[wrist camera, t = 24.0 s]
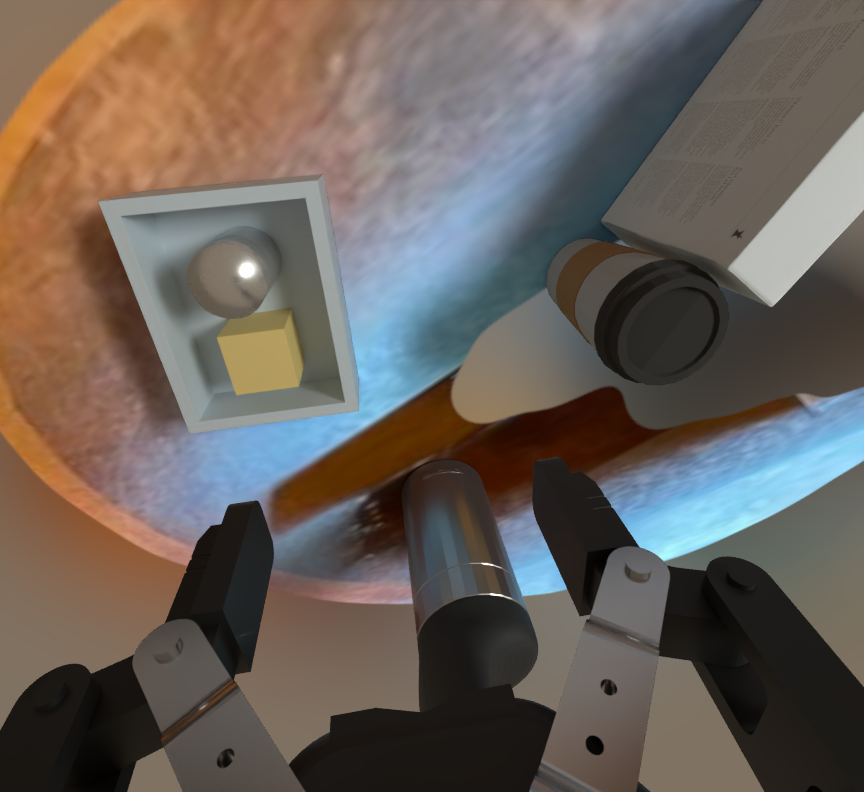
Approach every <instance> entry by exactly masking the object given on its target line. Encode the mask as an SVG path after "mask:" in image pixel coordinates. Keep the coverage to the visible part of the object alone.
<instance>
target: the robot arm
mask: <svg viewBox="0 0 864 792" xmlns="http://www.w3.org/2000/svg"><path fill="white" fill-rule="evenodd" d="M401 498H402V508H403V517H404V527H405V536H406V545H407V554H408V563H409V572H410V581H411V590H412V599H413V607H414V615H415V624H416V633H417V642H418V651H419V707H420V712H411V711H402V710H391V709H382V708H373V709H367V710H362V711H356V712H351V713H345V714H340V715H334V716H331V722H330V732H329V733H327V734H325V735H323V736H322V737H320V738H319V739H317V740H315V741H314V742H312V743H311V744H310V745H309V746H307V747H306V748H305V749H304V750H302V751H301V752H300V753H299V754H298V755H297V756H296V757H295V758H294V759H293V760H292V761H291V763H290V764H289V765H288V764H287V762H286V760H285V759H284V757H283V756H282V754H281V753H280V751H279V749H278V748H277V746H276V745H275V743H274V741H273V740H272V738H271V737H270V735H269V734H268V732H267V731H266V729H265V727H264V726H263V724H262V722H261V721H260V719H259V718H258V716H257V714H256V713H255V711H254V710H253V708H252V707H251V705H250V704H249V702H248V700H247V699H246V697H245V695H244V694H243V692H242V691H241V689H240V688H239V686H238V685H237V683H236V682H235V681H234V677H235V674H240V673H245V672H251V667H252V662H253V657H254V653H255V648H256V643H257V638H258V633H259V628H260V623H261V618H262V614H263V608H264V604H265V599H266V593H267V589H268V584H269V579H270V574H271V570H272V565H273V558H274V549H273V541H272V538H271V535H270V532H269V529H268V526H267V523H266V520H265V517H264V514H263V511H262V508H261V505H260V503H259V502H258V501H250V502H243V503H236V504H230V505H229V506H228V508H227V510H226V513H225V516H224V518H223V521H222V524H220V525H213V526H210V528H209V529H208V530H207V531H206V532H205V533H204V534H203V536H202V537H201V538H200V539H199V540H198V542H197V544H196V547H195V549H194V552H193V554H192V560H190V562H189V564H188V567H187V569H186V571H187V572H186V573H185V574H184V577H183V579H182V582H181V584H180V587H179V589H178V592H177V594H176V597H175V599H174V602H173V604H172V607H171V609H170V612H169V614H168V617H167V619H166V622H165V624H163V625H161V626H159V627H158V628H156V629H155V630H153V631H152V632H151V633H149V634H148V635H147V636H146V637H145V638H144V639H143V640H142V642H141V643H140V644H139V646H138V648H137V649H136V651H135V654H134V655H132V656H130V657H128V658H126V659H124V660H122V661H120V662H117V663H115V664H113V665H111V666H108V667H106V668H104V669H101V670H99V671H97V672H95V673H92V674H91V673H90V672H89V670H88V669H87V668H86V667H85V666H83V665H80V664H68V665H64V666H60V667H58V668H56V669H54V670H52V671H50V672H48V673H46V674H44V675H43V676H41V677H40V678H39V679H37V680H36V681H35V682H34V683H33V684H31V685H30V686H29V687H28V688H27V689H26V690H25V691H24V692H23V693H22V695H21V696H20V697H19V698H18V700H17V702H16V703H15V705H14V707H13V708H12V710H11V712H10V714H9V716H8V717H7V719H6V721H5V723H4V725H3V726H2V728H1V730H0V792H127V790H128V787H129V784H130V780H131V777H132V774H133V770H134V768H135V764H136V761H137V760H140V759H141V758H143V757H145V756H147V755H149V754H151V753H153V752H155V751H157V750H159V749H161V748H163V747H164V749H165V752H166V754H167V756H168V759H169V761H170V763H171V766H172V768H173V770H174V772H175V775H176V777H177V780H178V782H179V784H180V786H181V788H182V791H183V792H650V791H649V790H648V789H647V788H645V787H644V786H643V785H642V784H641V783H640V782H638V779H639V772H640V766H641V760H642V754H643V748H644V742H645V736H646V729H647V724H648V718H649V712H650V705H651V700H652V693H653V688H654V681H655V675H656V669H657V663H658V657H659V656H663V657H670V658H676V659H683V660H690V661H692V663H693V665H694V667H695V668H696V670H697V672H698V674H699V676H700V677H701V679H702V681H703V683H704V685H705V686H706V688H707V690H708V692H709V694H710V695H711V697H712V699H713V701H714V703H715V704H716V706H717V708H718V709H719V711H720V713H721V715H722V717H723V719H724V720H725V722H726V724H727V726H728V728H729V729H730V731H731V733H732V735H733V736H734V738H735V740H736V742H737V743H738V745H739V747H740V749H741V751H742V752H743V754H744V756H745V758H746V759H747V761H748V763H749V765H750V767H751V768H752V770H753V772H754V774H755V776H756V777H757V779H758V781H759V783H760V785H761V786H762V788H763V790H764V792H864V687H863V686H862V685H861V683H860V682H859V681H858V680H857V679H856V677H855V676H854V675H853V674H852V673H851V671H850V670H849V669H848V668H847V667H846V666H845V665H844V663H843V662H842V661H841V660H840V659H839V657H838V656H837V655H836V654H835V653H834V651H833V650H832V649H831V648H830V647H829V645H828V644H827V643H826V642H825V641H824V640H823V638H822V637H821V636H820V635H819V634H818V633H817V631H816V630H815V629H814V628H813V626H812V625H811V624H810V623H809V622H808V621H807V619H806V618H805V617H804V616H803V615H802V613H801V612H800V611H799V610H798V609H797V608H796V606H794V604H793V603H792V602H791V600H790V599H789V598H788V597H787V596H786V595H785V593H784V592H783V591H782V590H781V589H780V588H779V586H778V585H777V584H776V583H775V582H774V580H773V579H772V578H771V577H770V576H769V575H768V574H767V573H766V572H765V571H764V570H763V569H761V568H760V567H758V566H757V565H755V564H753V563H751V562H748V561H746V560H744V559H740V558H736V557H719V558H716V559H714V560H712V561H711V562H710V563H709V565H708V567H707V570H706V571H701V570H693V569H683V568H676V567H671V566H667V565H666V564H665V563H664V562H663V560H662V559H661V558H659V557H658V556H657V555H655V554H654V553H652V552H650V551H648V550H646V549H643V548H640V547H639V546H638V544H637V543H636V541H635V540H634V538H633V537H632V535H631V534H630V532H629V531H628V530H627V528H626V527H625V525H624V524H623V522H622V521H621V519H620V518H619V516H618V515H617V513H616V512H615V510H614V509H613V508H611V504H610V503H609V501H608V500H607V498H606V497H604V494H603V492H602V491H601V490H600V488H599V487H598V485H597V484H596V482H595V481H593V480H592V479H591V478H589V477H588V476H586V475H585V474H584V473H582V472H576V473H571V472H570V471H569V469H568V467H567V466H566V464H565V463H564V461H563V460H562V458H560V457H558V458H551V459H544V460H537V461H535V462H534V468H533V497H532V502H533V510H534V515H535V518H536V521H537V523H538V525H539V528H540V530H541V532H542V534H543V536H544V539H545V541H546V543H547V545H548V547H549V550H550V552H551V554H552V556H553V558H554V561H555V563H556V565H557V567H558V569H559V572H560V574H561V576H562V578H563V580H564V583H565V585H566V587H567V589H568V591H569V593H570V596H571V598H572V600H573V602H574V604H575V607H576V609H577V611H578V613H579V616H584V615H590V614H591V615H590V618H589V620H588V619H587V620H586V622H585V625H584V627H583V631H582V634H581V637H580V640H579V643H578V646H577V649H576V653H575V656H574V659H573V662H572V665H571V669H570V672H569V675H568V678H567V681H566V684H565V687H564V691H563V694H562V697H561V700H560V703H559V707H558V710H557V712H555V711H554V710H552V709H550V708H548V707H546V706H544V705H541V704H539V703H536V702H533V701H529V700H525V699H520V698H515V697H514V694H513V690H512V688H513V687H514V686H516V685H517V684H518V683H520V681H522V680H523V679H524V678H525V677H526V676H527V675H528V674H529V672H530V671H531V670H532V668H533V666H534V664H535V662H536V660H537V655H538V643H537V638H536V634H535V631H534V628H533V625H532V622H531V620H530V617H529V614H528V611H527V608H526V606H525V602H524V600H523V597H522V594H521V591H520V588H519V586H518V583H517V580H516V577H515V574H514V572H513V569H512V566H511V563H510V560H509V557H508V554H507V551H506V549H505V546H504V543H503V540H502V537H501V534H500V531H499V529H498V526H497V523H496V520H495V517H494V514H493V511H492V509H491V506H490V503H489V500H488V497H487V494H486V491H485V488H484V486H483V483H482V480H481V477H480V476H479V474H478V473H477V471H475V470H474V469H473V468H472V467H471V466H469V465H467V464H465V463H463V462H460V461H455V460H439V461H434V462H430V463H428V464H426V465H423V466H421V467H420V468H418V469H417V470H415V471H414V472H413V473H412V474H411V475H410V476H409V477H408V479H407V480H406V482H405V483H404V486H403V488H402V494H401Z"/></svg>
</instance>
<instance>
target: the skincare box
mask: <svg viewBox="0 0 864 792" xmlns="http://www.w3.org/2000/svg"><path fill="white" fill-rule="evenodd" d="M863 210H864V0H763V1H762V2H761V4H760V5H759V6H758V8H757V9H756V11H755V12H754V13H753V15H752V16H751V17H750V19H749V20H748V21H747V23H746V24H745V25H744V27H743V28H742V29H741V31H740V32H739V33H738V35H737V36H736V37H735V39H734V40H733V41H732V43H731V44H730V46H729V47H728V48H727V50H726V51H725V53H724V54H723V55H722V57H721V58H720V59H719V61H718V62H717V63H716V65H715V66H714V67H713V69H712V70H711V71H710V73H709V74H708V75H707V77H706V78H705V79H704V81H703V82H702V83H701V85H700V86H699V87H698V89H697V90H696V92H695V93H694V94H693V96H692V97H691V98H690V100H689V101H688V102H687V104H686V105H685V106H684V108H683V109H682V110H681V112H680V113H679V115H678V116H677V117H676V119H675V120H674V121H673V123H672V124H671V125H670V127H669V128H668V129H667V131H666V132H665V134H664V135H663V136H662V138H661V139H660V140H659V142H658V143H657V144H656V146H655V147H654V148H653V150H652V151H651V153H650V154H649V155H648V157H647V158H646V159H645V161H644V162H643V163H642V165H641V166H640V167H639V169H638V170H637V172H636V173H635V174H634V176H633V177H632V178H631V180H630V181H629V182H628V184H627V185H626V187H625V188H624V189H623V191H622V192H621V193H620V195H619V196H618V197H617V199H616V200H615V201H614V203H613V204H612V206H611V207H610V208H609V210H608V211H607V212H606V214H605V215H604V216H603V218H602V219H601V223H602V224H603V225H604V226H605V227H607V228H608V229H609V230H610V231H611V232H612V233H614V234H615V235H616V236H617V237H618V238H620V239H621V240H622V241H623V242H625V243H626V244H627V245H629V246H630V247H632V248H633V249H637V250H641V251H644V252H648V253H651V254H654V255H656V256H659V257H661V258H664V259H675V260H684V261H686V262H688V263H691V264H693V265H695V266H697V267H698V268H699V269H700V270H703V271H705V272H706V273H708V274H709V275H710V276H711V277H712V278H713V279H714V280H715V281H716V282H717V285H720V286H722V287H725V288H727V289H729V290H732V291H734V292H737V293H739V294H741V295H744V296H746V297H749V298H751V299H753V300H755V301H758V302H760V303H762V304H765V305H768V306H770V307H772V306H774V305H775V304H776V303H777V302H778V301H779V300H780V299H781V297H782V296H783V295H784V294H785V293H786V292H787V291H788V290H789V289H790V288H791V287H792V286H793V284H794V283H795V282H796V281H797V280H798V279H799V278H800V277H801V276H802V275H803V274H804V273H805V272H806V271H807V270H808V268H809V267H810V266H811V265H812V264H813V263H814V262H815V261H816V260H817V259H818V258H819V257H820V255H822V253H823V252H824V251H825V250H826V249H827V248H828V247H829V246H830V245H831V244H832V243H833V242H834V241H835V240H836V238H838V236H839V235H840V234H841V233H842V232H843V231H844V230H845V229H846V228H847V227H848V226H849V225H850V224H851V223H852V222H853V221H854V219H855V218H856V217H857V216H858V215H859V214H860V213H861V212H862V211H863Z"/></svg>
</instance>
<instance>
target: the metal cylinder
mask: <svg viewBox="0 0 864 792" xmlns="http://www.w3.org/2000/svg"><path fill="white" fill-rule="evenodd" d="M281 267H282V258H281V253H280V250H279V248H278V246H277V244H276V243H275V241H274V240H273V239H272V238H271V237H270V236H269V235H268V234H266V233H265V232H263V231H262V230H260V229H258V228H255V227H251V226H237V227H234V228H231V229H229V230H228V231H226V232H225V233H224V234H222V235H221V236H220V237H218V238H217V239H216V240H214V241H213V242H212V243H210V244H209V245H208V246H206V247H205V248H204V249H202V250H201V251H200V252H198V253H197V254H196V255H195V256H194V257H193V258H192V260H191V262H190V264H189V266H188V269H187V283H188V287H189V290H190V292H191V294H192V296H193V297H194V299H195V300H196V301H197V303H198V304H199V305H200V306H201V307H203V308H204V309H205V310H206V311H208V312H209V313H211V314H213V315H216V316H218V317H221V318H226V319H239V318H244V317H247V316H249V315H251V314H252V313H254V312H255V311H256V310H257V309H258V308H259V307H260V306H261V304H262V302H263V301H264V299H265V297H266V296H267V294H268V292H269V291H270V289H271V287H272V286H273V284H274V282H275V281H276V279H277V277H278V276H279V274H280V271H281Z"/></svg>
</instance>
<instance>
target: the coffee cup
mask: <svg viewBox="0 0 864 792" xmlns="http://www.w3.org/2000/svg"><path fill="white" fill-rule="evenodd" d="M546 279H547V289H548V292H549V295H550V296H551V298H552V299H553V301H554V302H555V303H556V304H557V305H558V307H559V308H560V310H561V311H562V313H563V314H564V315H565V316H566V317H567V319H568V320H569V321H570V322H571V323H572V324H573V326H574V327H575V328H576V329H577V330H578V331H579V333H580V334H581V335H582V336H583V337H584V338H585V340H586V341H587V342H588V343H589V344H591V345H592V346H593V347H594V348H595V349H596V351H597V353H598V355H599V357H600V358H601V360H602V361H603V363H604V364H605V365H606V366H607V367H608V368H610V369H611V370H612V371H614V372H615V373H617V374H619V375H620V376H622V377H623V378H624V379H627V380H630V381H633V382H636V383H644V384H647V385H665V384H670V383H675V382H677V381H679V380H682V379H684V378H686V377H688V376H690V375H691V374H693V373H694V372H696V371H697V370H699V369H700V368H701V367H702V366H703V365H704V364H705V363H706V362H708V361H709V359H711V358H712V356H713V355H714V353H715V352H716V350H717V349H718V347H719V346H720V344H721V342H722V340H723V338H724V336H725V333H726V331H727V324H728V319H729V312H728V303H727V301H726V299H725V297H724V294H723V292H722V291H721V290H720V289H719V287H718V285H717V282H716V281H715V280H714V279H713V278H712V277H711V276H710V275H709V274H708V273H706V272H705V271H703V270H700V269H699V268H698V267H697V266H695V265H693V264H691V263H688V262H686V261H684V260H675V259H664V258H661V257H659V256H656V255H654V254H651V253H648V252H644V251H641V250H637V249H633V248H630V247H626V246H622V245H619V244H615V243H611V242H604V241H600V240H597V239H590V238H584V239H579V240H575V241H573V242H571V243H569V244H567V245H566V246H565V247H563V248H562V249H561V250H560V251H559V252H558V253H557V254H556V255H555V257H554V258H553V260H552V262H551V264H550V266H549V268H548V272H547V277H546Z"/></svg>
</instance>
